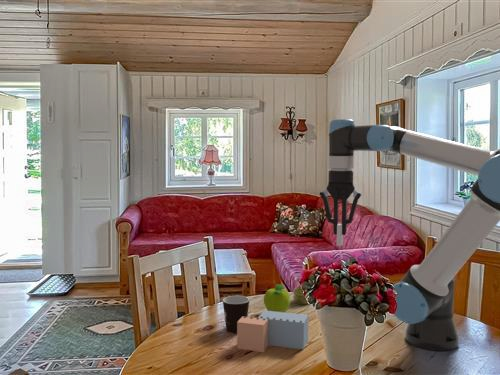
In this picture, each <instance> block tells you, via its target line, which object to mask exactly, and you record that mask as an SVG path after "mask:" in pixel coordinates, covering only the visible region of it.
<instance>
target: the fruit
mask: <svg viewBox="0 0 500 375" xmlns="http://www.w3.org/2000/svg"><path fill="white" fill-rule="evenodd" d="M263 303H264V306H265V308H266V311H275V312H285V313H287V311H288V309H289V308H290V306H291V297H290V293H289V292H288V291H287V290H286V288H284V284H279V283H278V284H276V285H275V287H274V288H269V289H268V290H267V291H266V292H265V294H264V296H263Z"/></svg>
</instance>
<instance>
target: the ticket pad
mask: <svg viewBox="0 0 500 375" xmlns="http://www.w3.org/2000/svg"><path fill="white" fill-rule="evenodd" d="M257 318H262V319H268V346H274V347H281V348H288V349H295V350H304V349H305V348H306V346H307V344H308V342H309V314H303V313H302V314H301V313H294V312H275V311H268V310H267V309H265V310H263V311H262V313H260V315H259V316H258V317H257Z"/></svg>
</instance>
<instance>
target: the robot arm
mask: <svg viewBox="0 0 500 375" xmlns="http://www.w3.org/2000/svg"><path fill="white" fill-rule="evenodd" d="M328 145H329V148H328V150H329V152H328V169H329V171H328V183H327V186H326V189H324V190H322V191H320V192H319V195H320V197H321V199H322V201H323V206H324V211H325V214H326V220H327V222H328V223H331V224H333V225H332V226H333V235H335V236H336V246H337V247H342V246H343V240H344V239H343V238H344V236H346V234H347V225H348V224H351V223H352V222H353V221H354V217H355V212H356V208H357V206H358V201H359V199H360V198H361V197H362V196H363V195H362V192H360V191H358V190H356V188H355V186H354V171H353V169H354V155H355V153H354V152H355V151H356V152H357V151H364V152H383V151H384V152H385V151H387V152H388V151H389V152H392V153H395V154H400V155H403V156H408V157H411V158H414V159H418V160H421V161H425V162H429V163H432V164H435V165H439V166H442V167H445V168H449V169H452V170H456V171H459V172H463V173H467V174H470V175H473V176H477V179H476V181H475V182H474V183H473V184H472V186H471V187H470V189H469V190H470V195H471V198H470V199H469V200H468V201H467V203H466V204H465V205H464V207H463V208H462V210H460V212H459V213H458V215H457V216H456V217H455V219H454V220H453V221H452V222H451V223H450V225H449V227H447V229H446V230H445V232H444V233H443V234H442V236H440V238H439V239H438V240H437V242H436V243H435V245H434V246H433V247H432V249H431V250H430V251H429V253H428V254H427V255H426V256H425V258H424V259H423V260H422V262H421V263H420V264H413V265H411V267H410V268H409V269H408V271H407V272H406V273H405V274H404V276H403V277H402V278H401V279H400V281H398V282H395V283H393V284H392V286H394V287H395V290H396V292H397V295H396V301H397V310H396V312H395V314H393V316H394V317H395V318H396V319H398V320H399V321H401V322H402V323H406V324H407V326H406V329H405V340H406V341H407V342H408V343H409V344H411V345H412V346H414V347H417V348H421V349H423V350H429V351H437V352H438V351H439V352H444V351H443V350H446V351H452V350H454V348H455V349H456V348H458V346H459V341H460V340H459V334H458V332H457V331H458V330H457V327H456V324H455V321H454V305H455V304H454V302H455V300H454V298H455V283H456V280H455V276H456V275H457V274H458V272H460V270H461V269H462V267H463V266H464V265H465V264H466V262H467V261H468V260H469V259H470V258H471V256H473V254H474V253H475V252H476V250H477V249H479V247H481V244H482V243H483V242H484V240H486V238H487V237H488V236H489V235H490V233H491V232H492V231H493V230H494V229H495V227H496V226H497V225H498V223H499V222H500V148H498V149H496V150H494V151H493V150H488V149H486V148H480V147H478V146H473V145H468V144H465V143H461V142H456V141H453V140H449V139H444V138H441V137H437V136H432V135H429V134H425V133H421V132H415V131H412V130H407V129H405V128H402V127H401V126H396V125H393V126H390V125H387V124H369V125H366V124H365V125H355V120H353V119H348V118H347V119H346V118H343V119H341V118H339V119H332V120H331V121H330V122H329V131H328ZM352 194H353V195H352ZM329 195H330V196H331V198H332V199H333V215H332V210H331V206H330V202H329V198H328V196H329ZM351 196H352V197H353V201H352V203H351V208H350V212H349V215H347V214H348V199H350V197H351ZM340 200H341V223H339V222H340V221H339V209H340V208H339V205H340V202H339V201H340ZM347 216H348V217H347ZM451 349H452V350H451Z"/></svg>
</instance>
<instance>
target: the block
mask: <svg viewBox="0 0 500 375" xmlns="http://www.w3.org/2000/svg"><path fill="white" fill-rule="evenodd" d="M236 335H237V337H236V348H237V349H238V350H246V351H252V352H253V351H254V352H259V353H260V352H261V353H264V352H265V351H266V349H267V347H268V346H269V345H268V319H262V318H258V317H252V316H248V317H246V316H242V318H241V319H240V320H239V321H238V322H237V334H236Z"/></svg>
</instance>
